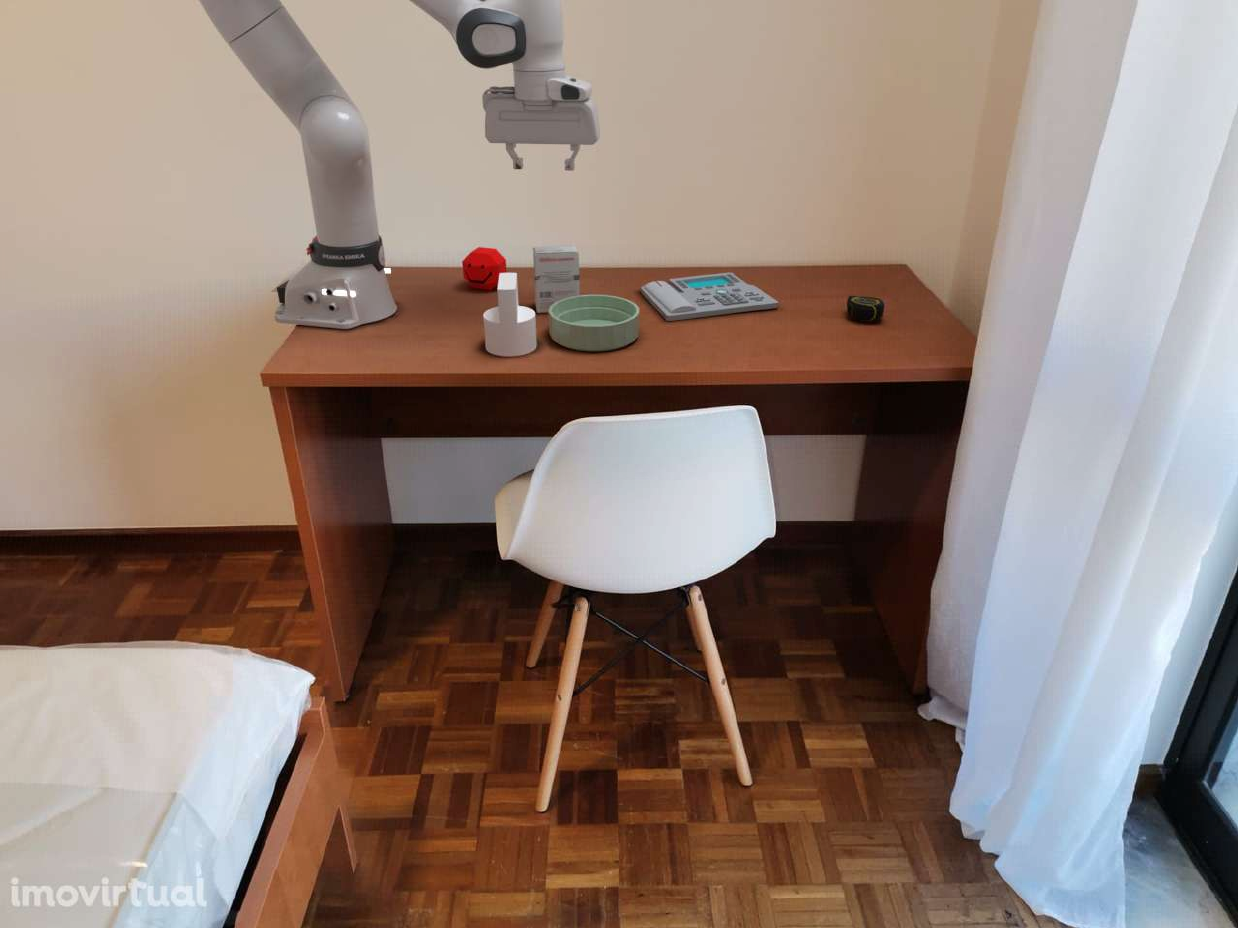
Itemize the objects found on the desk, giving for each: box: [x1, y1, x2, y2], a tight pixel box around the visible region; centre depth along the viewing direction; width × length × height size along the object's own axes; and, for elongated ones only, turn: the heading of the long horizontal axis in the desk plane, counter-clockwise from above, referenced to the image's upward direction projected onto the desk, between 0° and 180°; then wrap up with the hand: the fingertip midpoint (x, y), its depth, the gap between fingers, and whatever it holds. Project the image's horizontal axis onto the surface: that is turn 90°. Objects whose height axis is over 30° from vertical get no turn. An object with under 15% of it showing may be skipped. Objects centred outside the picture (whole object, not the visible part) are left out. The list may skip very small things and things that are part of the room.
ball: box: [461, 246, 508, 291], centre depth 186 cm, size 8×8×8 cm
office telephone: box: [640, 272, 779, 322], centre depth 181 cm, size 23×3×20 cm
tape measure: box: [846, 295, 885, 323], centre depth 172 cm, size 7×7×4 cm
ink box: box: [532, 245, 581, 314], centre depth 174 cm, size 8×5×12 cm, turn 99°
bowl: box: [548, 294, 640, 352], centre depth 163 cm, size 16×16×5 cm
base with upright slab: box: [482, 272, 538, 357], centre depth 157 cm, size 9×9×12 cm
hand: (544, 169), depth 162 cm, fingers open, 8 cm apart
